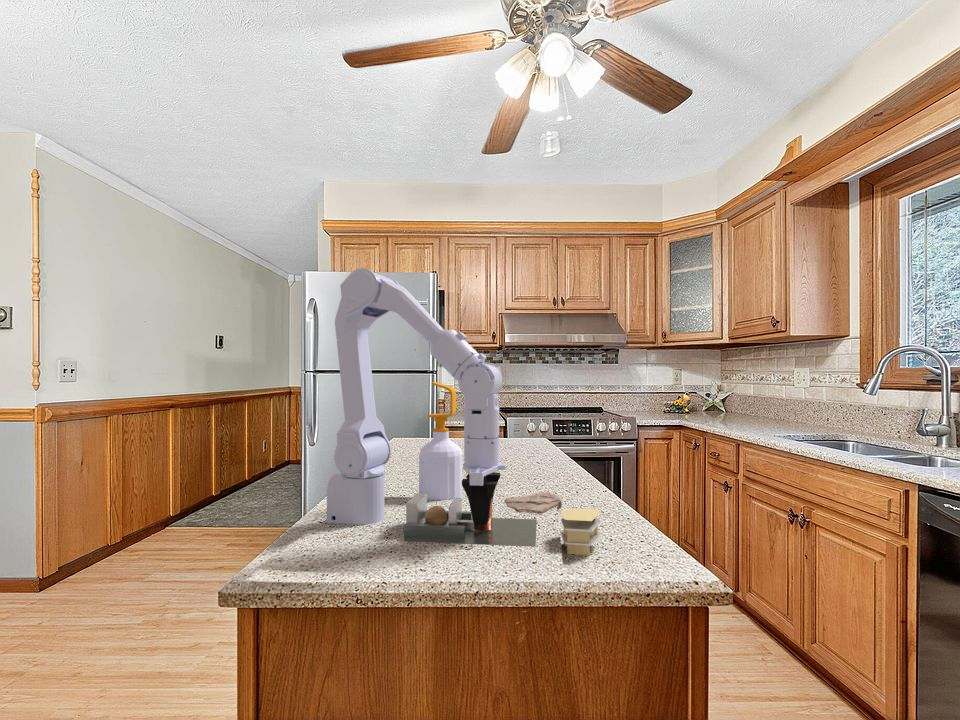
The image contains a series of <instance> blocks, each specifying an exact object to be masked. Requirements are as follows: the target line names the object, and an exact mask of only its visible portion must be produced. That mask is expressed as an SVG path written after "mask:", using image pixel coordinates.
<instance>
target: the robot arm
mask: <svg viewBox="0 0 960 720" xmlns="http://www.w3.org/2000/svg"><path fill="white" fill-rule="evenodd" d="M339 288H340V296H341V297H340V301H339V304H338V309H337V311H336V314H335V318H334V319H335V320H334V327H335V336H336V345H337V357H338V366H339V377H340V384H341V385H340V386H341V395H342V403H343V414H344V421H343V423H342V425H341V426H340V428H339V429H338V431H337V433H336V437H337V438H336V439H337V440H336V441H337V443H336V447H335V450H334V455H333V459H334V463H335V465H336V468H337V470H338V471H339V472H340V473H334V474H333V475H331V477H330V478H329V480H328V483H327V487H326V523H328V524H345V525H354V526H364V525H365V526H367V525H373V524H377V523H381V522H382V521H384V520H385V478H386V477H385V472H386V464H388V462H389V460H390V458H391V456H392V446H391V442H390V441H389V439H388V437H387V435H386V431H385V426H384V424H383V423H382V421H381V420H380V419H379V418H378V416H377V409H376V400H375V392H374V390H375V389H374V381H373V380H374V379H373V372H372V362H371V353H370V352H371V351H370V345H369V343H370V342H369V336H368V335H369V334H368V330H369V329H370V327H371V326H372V325H373V324H374V323H375V322H376V321H377V320H378V319H379V318H381V317H383V316H384V315H387V313H389V312H392V313H396V314H398V315H399V316H400V317H401V318H402V319H403V320H404V321H405V322H406V323H407V324H409V325H410V326H411V327H412V328H413V329H414V330H415V331H416V332H417V333H418V334H419V335H420V336H422V338H423V339H425V340H426V341H427V342H428V343H429V352H430V353H429V354H430V355H431V356H432V357H433V358H434V359H435V360H436V361H437V362H438V363H439V365H441V366H442V368H443V369H445V370H446V372H448V373H449V374H450V375H451V377H452V378H453V379H454V380H455V381H458V383H457V384H458V387H459V390H460V392H461V394H462V395H463V397H464V408H463V411H464V412H463V424H464V425H463V458H464V459H463V463H462V470H463V471H464V472H465V473H467V475H466V476H465V477H466V478H462V489H463V491H465V494H466V497H467V499H468V500H467V501H468V504H469V507H470V512H471V514H472V519H473V523H474V525H487V522H488V518H489V512H490V505H491V499H492V503H493V501H494V494H495V491H496V487H497V485H498V483H499V480H500V478H501V473H500V472H498V471H500V470H503V471H504V470H506V469H508V467H507V463H501V462H500V408H499V405H500V400H499V395H500V394H499V392H500V391H501V389H502V387H503V383H504V379H503V374H502V372H501V370H500V369H499V368H498V366H497V365H496V364H494V363H492V362H485V360H487V356H486V355H485V354H484V353H479V352H478V351H477V350H476V349H474V347H473V346H471V344H470V343H469V342H467V338H468V336H466V334H464V332H461V331H458V332H457V331H456V330H455V329H444V328H443V327H442V326H441V325H440V324H439V322H437V321H436V320H435V318H434V317H433V316H432V315H431V314H430V313H429V312H428V311H427V310H426V309H425V308H424V307H423V305H422V304H420V302H419V301H418V300H417V299H416V298H415V297H414V296H413V295H412V294H411V293H410V291H409V290H408V289H407V288H405V287H404V286H402V284H401V285H400V284H399V282H398V281H397V280H396V279H394V278H392V277H390V276H385V275H382V274H378V273H376V272H373V271H372V270H370V269H368V268H356V269H354V270H353V271H351V272H350V274H348V275H347V277H346V278H345V279H344V280H343V282H342V283H341V284H340V287H339Z"/></svg>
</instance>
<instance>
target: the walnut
mask: <svg viewBox="0 0 960 720" xmlns="http://www.w3.org/2000/svg"><path fill="white" fill-rule="evenodd" d="M446 511H447V510H446V509H445V508H443V506H440V505H433V506H430V507H429V508H427V512H426V514H425V520H426V523H427V524H431V525H444V524H445V523H446V521H447V513H446Z"/></svg>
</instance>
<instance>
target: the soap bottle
mask: <svg viewBox="0 0 960 720" xmlns="http://www.w3.org/2000/svg"><path fill="white" fill-rule="evenodd" d="M431 385H432V386H435V387H439V388H442V389H444V390H447V391H448V392H449V394H450V410H449V411H450V412H449V413H432V414H431V413H430V414H428V418H433V419H434V420H433V421H434V422H436V427H434V428H432V440H430V441H429V442H427V443H426V444H424V445H423V446H422V447H421V448H420V451H419V453H418V493H427V500H429V501H448V500H454V498H462V499H463V486H462V480H463V450H462V449H461V447H460V446H459V445H458V444H457V443H455V442H454V441H452V440H451V439H450V431H449V430H450V429H449V428H448V427H446V422H448V418H450V417H452V416H454V415H455V414H456V413H457V392H456V389H455V388H454V387H452V386H450V385H447V384H443V383H441V382H437V381H433V382H431Z"/></svg>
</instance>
